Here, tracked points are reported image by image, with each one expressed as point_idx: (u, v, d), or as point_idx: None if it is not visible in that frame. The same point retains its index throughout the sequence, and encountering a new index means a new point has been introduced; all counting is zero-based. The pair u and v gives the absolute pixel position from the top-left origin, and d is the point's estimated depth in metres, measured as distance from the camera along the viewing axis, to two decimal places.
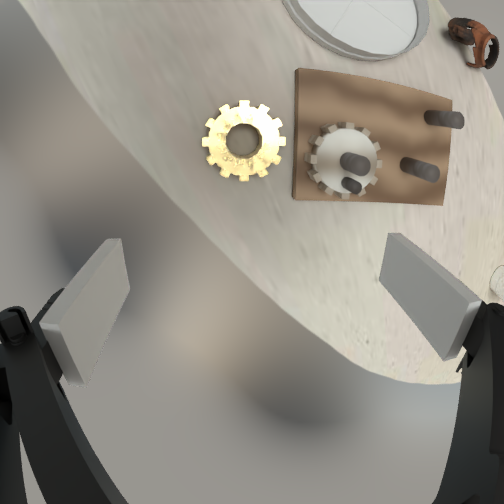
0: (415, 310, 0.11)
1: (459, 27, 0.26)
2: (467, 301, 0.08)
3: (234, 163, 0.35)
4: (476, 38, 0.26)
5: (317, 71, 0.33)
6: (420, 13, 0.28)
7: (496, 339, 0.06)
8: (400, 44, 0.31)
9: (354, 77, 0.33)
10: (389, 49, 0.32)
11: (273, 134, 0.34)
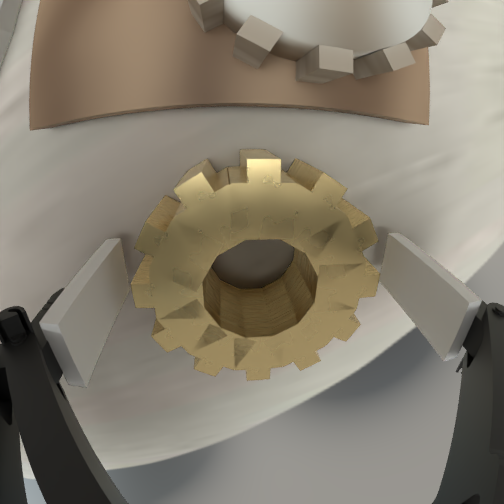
0: (415, 310, 0.11)
1: None
2: (467, 301, 0.08)
3: (326, 312, 0.12)
4: None
5: (33, 76, 0.08)
6: None
7: (496, 339, 0.06)
8: None
9: None
10: None
11: (238, 203, 0.10)
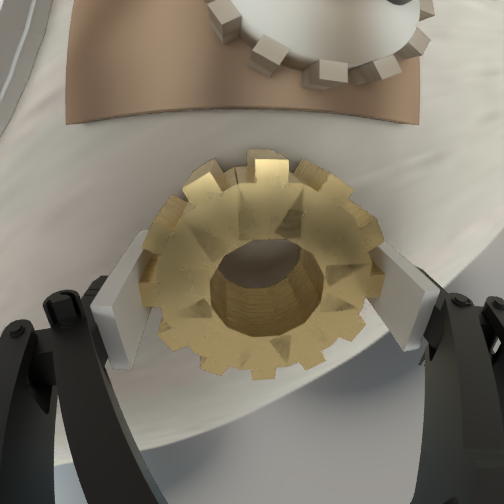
0: (378, 301, 0.12)
1: None
2: (423, 290, 0.09)
3: (331, 312, 0.12)
4: None
5: (69, 77, 0.11)
6: None
7: (458, 331, 0.07)
8: None
9: None
10: None
11: (246, 203, 0.10)
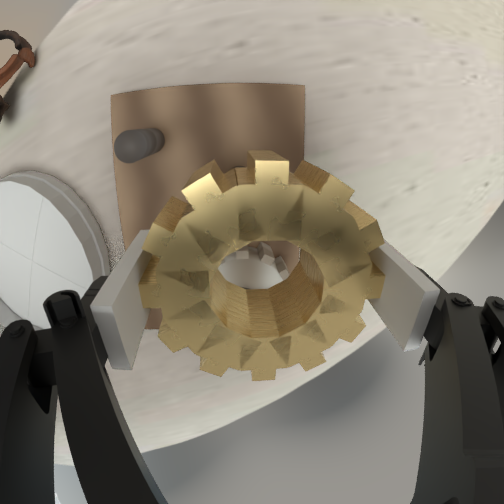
0: (378, 301, 0.12)
1: None
2: (423, 290, 0.09)
3: (332, 314, 0.12)
4: None
5: None
6: (9, 178, 0.24)
7: (458, 331, 0.07)
8: None
9: None
10: None
11: (246, 204, 0.10)
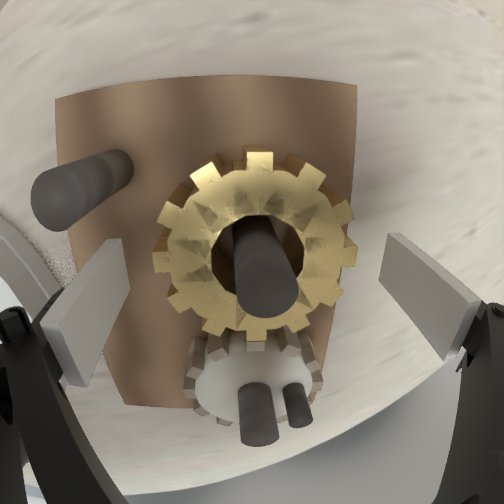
0: (415, 310, 0.11)
1: None
2: (467, 301, 0.08)
3: (312, 279, 0.15)
4: None
5: (119, 388, 0.23)
6: None
7: (496, 339, 0.06)
8: None
9: None
10: None
11: (240, 186, 0.13)
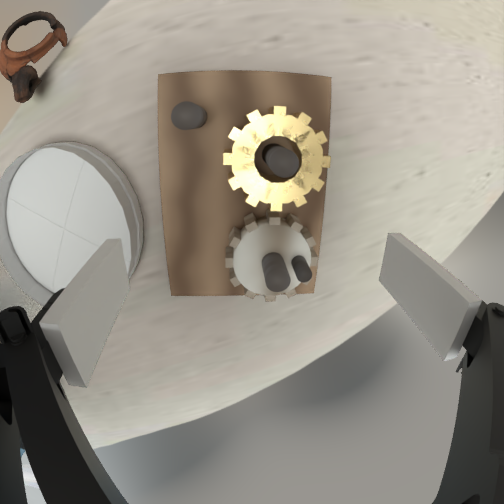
0: (415, 310, 0.11)
1: (16, 98, 0.21)
2: (467, 301, 0.08)
3: (307, 172, 0.27)
4: (18, 66, 0.19)
5: (170, 278, 0.35)
6: (48, 146, 0.27)
7: (496, 339, 0.06)
8: None
9: (167, 237, 0.33)
10: None
11: (270, 121, 0.25)
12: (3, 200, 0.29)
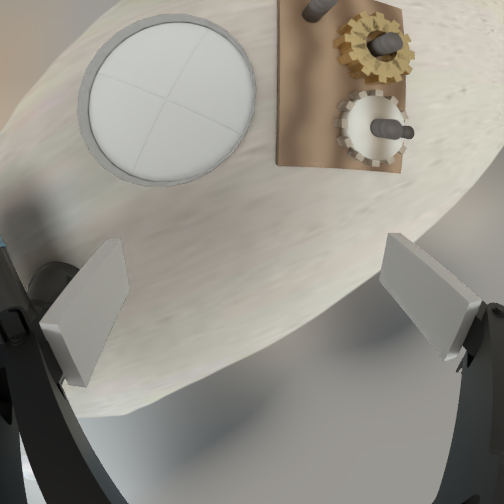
0: (415, 310, 0.11)
1: None
2: (467, 301, 0.08)
3: (400, 59, 0.27)
4: None
5: (280, 146, 0.35)
6: (167, 20, 0.27)
7: (496, 339, 0.06)
8: (222, 44, 0.30)
9: (282, 105, 0.33)
10: (233, 58, 0.31)
11: (374, 20, 0.25)
12: (94, 72, 0.29)
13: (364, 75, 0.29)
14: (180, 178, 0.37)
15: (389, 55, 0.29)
